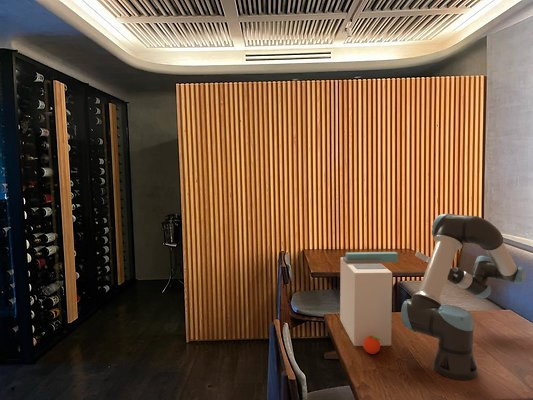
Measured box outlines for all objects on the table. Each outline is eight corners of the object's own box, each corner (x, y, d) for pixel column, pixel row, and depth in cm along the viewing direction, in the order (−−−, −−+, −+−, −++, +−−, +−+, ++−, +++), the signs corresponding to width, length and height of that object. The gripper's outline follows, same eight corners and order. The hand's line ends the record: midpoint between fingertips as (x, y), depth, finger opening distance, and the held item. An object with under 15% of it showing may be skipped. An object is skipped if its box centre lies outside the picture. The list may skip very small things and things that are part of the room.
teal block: (395, 260, 195) (395, 251, 194) (397, 261, 191) (398, 253, 190) (345, 260, 194) (345, 252, 194) (347, 262, 190) (347, 254, 190)
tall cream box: (371, 319, 204) (372, 254, 201) (391, 345, 174) (392, 269, 172) (340, 319, 204) (340, 254, 201) (354, 346, 174) (354, 269, 171)
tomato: (382, 350, 169) (383, 334, 169) (383, 358, 163) (383, 341, 162) (363, 348, 171) (363, 332, 171) (362, 355, 165) (362, 339, 164)
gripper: (468, 292, 182) (428, 269, 181) (443, 277, 207) (408, 257, 205) (477, 277, 181) (437, 255, 180) (451, 264, 206) (415, 244, 205)
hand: (421, 256), depth 193 cm, fingers open, 13 cm apart
